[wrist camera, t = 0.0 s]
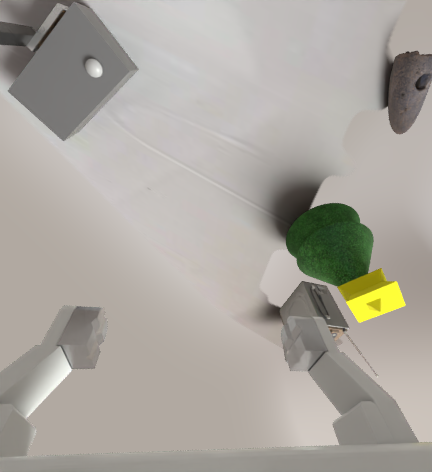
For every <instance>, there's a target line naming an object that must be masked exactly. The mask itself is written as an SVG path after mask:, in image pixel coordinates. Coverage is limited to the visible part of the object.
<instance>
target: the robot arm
mask: <svg viewBox="0 0 432 472" xmlns="http://www.w3.org/2000/svg"><path fill="white" fill-rule="evenodd" d="M104 315H105V309H104V308H99V307H81V306H63V307H62V308H61V309H60V310H59V312H58V314H57V316H56V318H55V320H54V321H53V323H52V325H51V327H50V328H49V330H48V332H47V334H46V336H45V338H44V339H43V341H42V343H41V345H36V346H34V347H33V348H32V349H30V350H29V351H28V352H26V353H25V354H24V355H22V356H21V357H20V358H18V359H17V360H16V361H14V362H13V363H12V364H11V365H9V366H8V367H7V368H5V369H4V370H3V371H1V372H0V472H432V442H420V443H419V442H418V440H417V438H416V436H415V434H414V433H413V431H412V429H411V427H410V426H409V424H408V422H407V420H406V419H405V417H404V415H403V413H402V412H401V410H400V408H399V406H398V404H397V403H396V401H395V400H394V399H393V398H392V397H391V396H390V395H389V394H388V393H387V392H386V391H385V390H383V389H382V388H381V387H380V386H379V385H378V384H377V383H376V382H375V381H374V380H373V379H372V378H370V377H369V376H368V375H367V374H366V373H365V372H364V371H363V370H362V369H361V368H360V367H359V366H358V365H356V364H355V363H354V362H353V361H352V360H351V359H350V358H349V357H348V356H347V355H346V354H345V353H343V352H340V351H339V349H338V347H337V345H336V342H335V340H334V338H333V336H332V334H331V332H330V330H329V328H328V326H327V324H326V322H325V320H324V319H323V318H322V317H311V316H289V317H288V319H287V322H288V323H287V324H285V325H284V326H283V328H282V331H281V339H282V343H283V346H284V347H285V348H286V349H287V350H288V351H287V354H286V358H287V361H288V364H289V368H290V371H308V373H309V374H310V376H311V377H312V378H313V380H314V381H315V382H316V383H317V385H318V386H319V387H320V388H321V390H322V391H323V392H324V394H325V395H326V396H327V397H328V399H329V400H330V401H331V402H332V404H333V405H334V406H335V408H336V409H337V410H338V411H339V413H340V414H341V415H342V416H341V417H339V418H338V419H336V420H335V421H334V422H333V427H334V430H335V433H336V436H337V439H338V442H339V445H335V446H306V447H277V448H248V449H221V450H192V451H163V452H136V453H106V454H77V455H47V456H27V453H28V451H29V448H30V446H31V444H32V441H33V439H34V437H35V434H36V428H35V427H34V426H33V425H32V424H31V423H30V422H29V421H28V420H27V419H26V418H27V417H28V416H29V415H30V414H31V413H32V412H33V411H34V410H35V409H36V408H37V407H38V406H39V405H40V403H41V402H42V401H43V400H44V399H45V398H46V397H47V396H48V395H49V394H50V393H51V392H52V391H53V390H54V389H55V388H56V387H57V386H58V384H59V383H60V382H61V381H62V380H63V379H64V378H65V377H66V376H67V375H68V374H69V373H70V371H72V369H93V368H95V366H96V363H97V360H98V357H99V354H100V349H99V345H100V344H101V343H102V342H103V341H104V339H105V336H106V332H107V319H106V318H105V317H104Z"/></svg>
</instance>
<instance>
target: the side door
mask: <svg viewBox="0 0 432 472" xmlns="http://www.w3.org/2000/svg"><path fill="white" fill-rule="evenodd" d="M68 9H69V7H67V6H65V5H62V4H59V3H57V4H56V5H55V7H54V8H53V10H52V11H51V13H50V14H49V15H48V17H47V18H46V20H45V21H44V22H43V24H42V25H41V27H40V28H39V29H38V31H37V32H36V31H35V30H34V29H33V28H32V27H29V26H23V25H17V24H11V23H6V22H0V45H16V46H27V47H28V48H29V49H30V50H31V51H33V52H37V50H38V49H39V48H40V46H41V45H42V44H43V42H44V41H45V40H46V38H47V37H48V36H49V34H50V33H51V32H52V30H53V29H54V27H55V26H56V25H57V23H58V22H59V21H60V19H61V18H62V17H63V15H64V14H65V13H66V11H67V10H68Z"/></svg>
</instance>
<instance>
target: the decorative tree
mask: <svg viewBox="0 0 432 472" xmlns="http://www.w3.org/2000/svg"><path fill="white" fill-rule="evenodd" d="M286 246H287V249H288V251H289V252H290V254H291V255H293V256H294V257H295V258H297V265H298V267H299V269H300V270H301V271H302V272H303V273H304V274H306V275H308V276H310V277H313V278H316V279H319V280H321V281H324V282H327V283H330V284H332V285H335V286H337V288H338V289H339V291H340V292H341V294H342V295H343V297H344V299H345V300H346V303H347V304H348V306H349V308H350V309H351V311H352V312H353V314H354V315H355V317H356V319H357V320H358V322H359V323H360V322H363V321H365V320H368V319H371V318H373V317H376V316H379V315H382V314H384V313H387V312H390V311H392V310H395V309H398V308H400V307H403V306H405V303H404V300H403V297H402V294H401V292H400V289H399V286H398V283H397V282H396V281H393V282H392V281H391V282H390V281H386V278H385V276H384V273H383V271H382V268H380V269H378V270H375V271H373V272H371V273H369V274H368V270H369V264H370V259H371V253H372V247H373V234H372V232H371V231H370V229H369V228H367V227H366V226H365V225H363V224H360V218H359V215H358V214H357V212H356V211H355V210H354V209H353V208H351V207H350V206H347V205H345V204H339V203H330V204H324V205H320V206H317V207H314V208H312V209H310V210H308V211H307V212H305V213H304V214H302V215H301V216H300V217H299V218H297V219H296V220H295V222H294V223H293V224H292V225H291V227H290V229H289V231H288V233H287V237H286Z"/></svg>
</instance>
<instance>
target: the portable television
mask: <svg viewBox="0 0 432 472" xmlns="http://www.w3.org/2000/svg"><path fill="white" fill-rule="evenodd" d="M280 315H281V319H282V322H283V325H285V324H287V323H288V322H287V319H288V317H289V316H311V317H322V318H323V319H324V320H325V322H326V324H327V326H328V328H329V330H330V332H331V334H332V336H333V338H334V340H335V341H336V340H337V339H338V338H339V337H340V336H342V335H343V334H346V336H347V337H348V338H349V340H350V341H351V342H352V344H353V345H354V346H355V348H356V349H357V350H358V352H359V353H360V355H362V353H361V352H360V351H359V349H358V348H357V347H356V345H355V344H354V343H353V341H352V340H351V339H350V337H349V336H348V335H347V333H346V331H347V330H348V329H350V328H349V326H348V324H347V323H346V321H345V319H344V317H343V315H342V313H341V312H340V310H339V308H338V306H337V304H336V303H335V301H334V299H333V297H332V295H331V293H330V292H329V290H328V288H327V286H324V285H319V284H314V283H309V282H304V281H302V282H301V283H300V284H299V286H298V287H297V288H296V289H295V291H294V292H293V293H292V294H291V296H290V297H289V298H288V300H287V301H286V302H285V303H284V305H283V306H282V307H281V309H280ZM283 349H284V355H285V360H286V362H287V363H288V361H287V358H286V354H287V351H288V350H287V349H286V348H285V347H284V346H283ZM362 357H363V355H362ZM363 358H364V357H363ZM364 359H365V358H364ZM365 361H366V359H365ZM366 362H367V361H366ZM367 363H368V362H367ZM368 365H369V363H368ZM369 366H370V365H369ZM370 368H371V369H372V367H371V366H370ZM372 370H373V369H372ZM373 372H374V373H375V371H374V370H373ZM375 374H376V373H375ZM376 376H377V377H378V375H377V374H376Z"/></svg>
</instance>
